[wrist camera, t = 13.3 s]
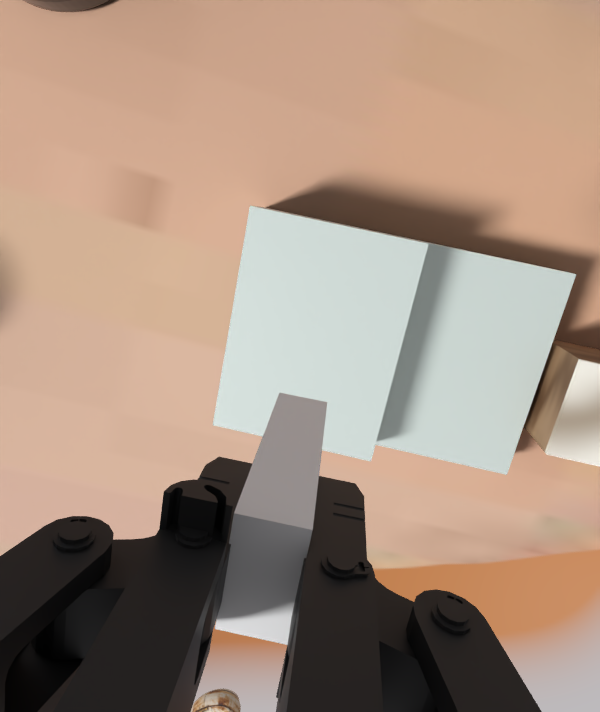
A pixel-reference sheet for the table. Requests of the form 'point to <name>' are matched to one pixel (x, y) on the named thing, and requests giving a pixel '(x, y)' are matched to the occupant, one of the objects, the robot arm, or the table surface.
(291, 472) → the robot arm
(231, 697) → the trinket box
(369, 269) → the steps
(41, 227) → the table surface
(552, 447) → the cube
